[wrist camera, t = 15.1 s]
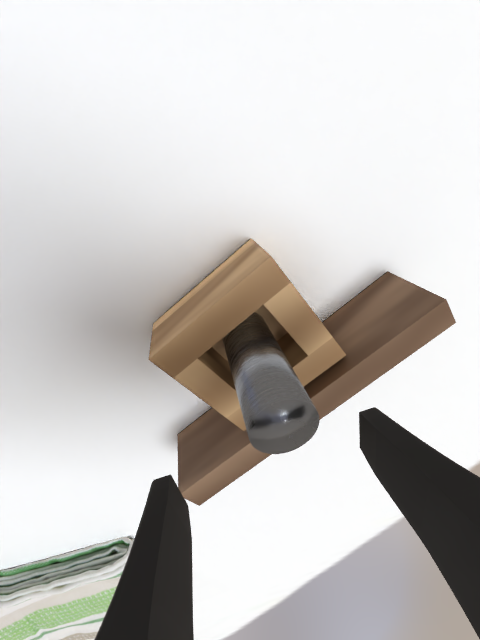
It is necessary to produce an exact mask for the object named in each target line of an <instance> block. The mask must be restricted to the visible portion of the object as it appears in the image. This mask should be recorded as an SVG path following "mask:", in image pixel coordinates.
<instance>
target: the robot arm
mask: <svg viewBox="0 0 480 640" xmlns="http://www.w3.org/2000/svg"><path fill="white" fill-rule="evenodd" d="M359 424H360V448H361V450H362V452H363V454H364V456H365V458H366V459H367V461H368V463H369V465H370V466H371V468H372V470H373V472H374V473H375V475H376V476H377V478H378V479H379V481H380V482H381V484H382V485H383V487H384V488H385V489H386V491H387V492H388V494H389V495H390V497H391V498H392V499H393V501H394V502H395V504H396V505H397V507H398V508H399V509H400V511H401V512H402V514H403V515H404V516H405V518H406V519H407V521H408V522H409V523H410V525H411V526H412V527H413V529H414V530H415V532H416V533H417V535H418V536H419V538H420V539H421V541H422V542H423V544H424V545H425V547H426V548H427V550H428V551H429V553H430V555H431V556H432V558H433V560H434V561H435V563H436V565H437V566H438V568H439V570H440V571H441V573H442V575H443V576H444V578H445V580H446V581H447V583H448V585H449V586H450V588H451V589H452V591H453V593H454V595H455V597H456V598H457V600H458V602H459V604H460V605H461V607H462V609H463V610H464V612H465V614H466V616H467V618H468V619H469V621H470V623H471V625H472V626H473V628H474V630H475V632H476V633H477V635H478V637H479V639H480V477H478V476H477V475H475V474H473V473H472V472H470V471H468V470H467V469H465V468H463V467H462V466H460V465H458V464H457V463H455V462H454V461H452V460H450V459H449V458H447V457H446V456H444V455H443V454H441V453H440V452H438V451H437V450H435V449H434V448H432V447H431V446H429V445H428V444H426V443H425V442H423V441H422V440H420V439H419V438H417V437H416V436H414V435H413V434H411V433H410V432H409V431H407V430H406V429H404V428H403V427H402V426H400V425H399V424H397V423H396V422H395V421H393V420H392V419H391V418H389V417H388V416H386V415H385V414H384V413H382V412H381V411H380V410H378V409H377V408H375V407H374V408H371V409H368V410H365V411H362V412H359ZM94 640H194V639H193V598H192V537H191V527H190V518H189V510H188V505H187V503H186V501H185V499H184V498H183V496H182V494H181V492H180V490H179V489H178V487H177V485H176V483H175V481H174V480H173V478H172V476H171V475H168V476H165V477H162V478H159V479H156V480H154V481H153V482H152V484H151V488H150V492H149V495H148V498H147V502H146V505H145V508H144V512H143V515H142V518H141V521H140V524H139V527H138V530H137V533H136V536H135V539H134V542H133V545H132V548H131V550H130V553H129V556H128V559H127V562H126V564H125V567H124V570H123V572H122V575H121V577H120V580H119V582H118V585H117V587H116V590H115V593H114V595H113V598H112V600H111V603H110V605H109V607H108V610H107V612H106V614H105V617H104V619H103V621H102V624H101V626H100V628H99V631H98V633H97V635H96V637H95V639H94Z"/></svg>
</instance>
